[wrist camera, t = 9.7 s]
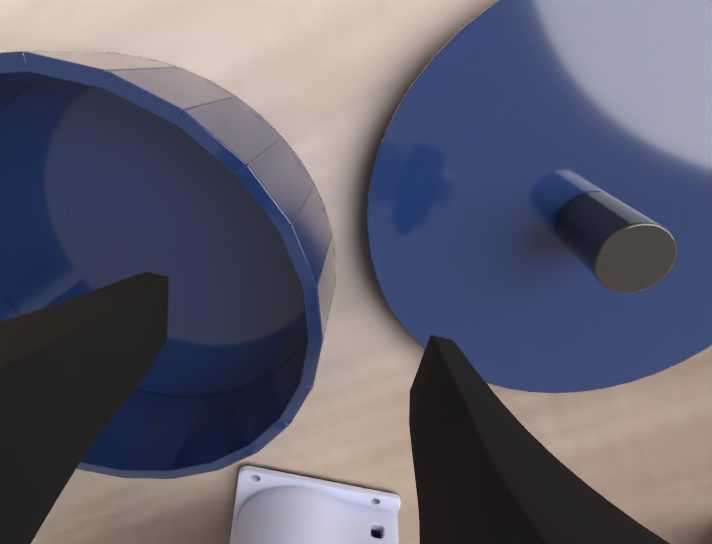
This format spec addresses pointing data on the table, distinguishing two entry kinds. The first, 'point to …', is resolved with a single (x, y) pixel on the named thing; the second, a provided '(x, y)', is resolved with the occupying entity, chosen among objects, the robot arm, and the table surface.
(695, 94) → the pot lid
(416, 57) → the table surface
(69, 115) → the pot
